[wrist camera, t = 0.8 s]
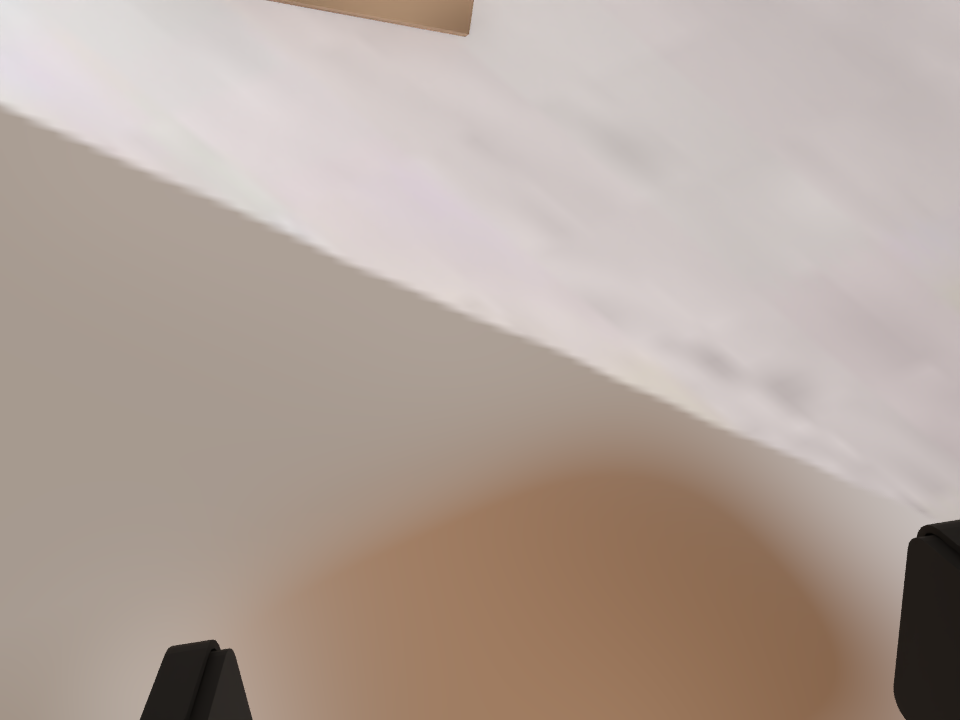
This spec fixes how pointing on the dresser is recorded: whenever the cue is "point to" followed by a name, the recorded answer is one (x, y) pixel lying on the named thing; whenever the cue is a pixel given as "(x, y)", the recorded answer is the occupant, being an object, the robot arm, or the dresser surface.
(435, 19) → the dial board
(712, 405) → the dresser surface
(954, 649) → the robot arm
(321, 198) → the dresser surface
